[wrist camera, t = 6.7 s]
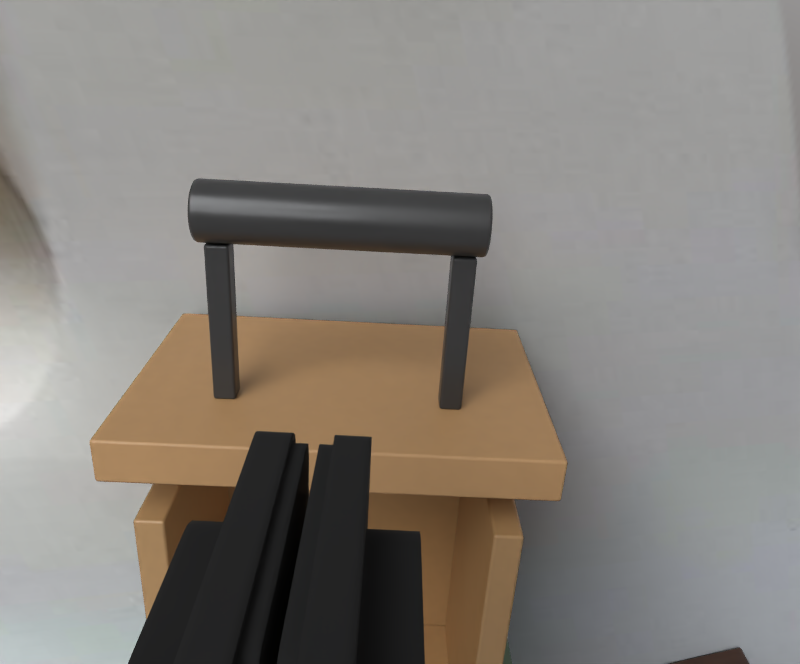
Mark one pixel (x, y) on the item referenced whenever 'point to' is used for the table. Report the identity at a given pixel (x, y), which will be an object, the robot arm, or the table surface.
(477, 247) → the drawer
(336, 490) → the robot arm
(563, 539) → the table surface
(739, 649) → the block
